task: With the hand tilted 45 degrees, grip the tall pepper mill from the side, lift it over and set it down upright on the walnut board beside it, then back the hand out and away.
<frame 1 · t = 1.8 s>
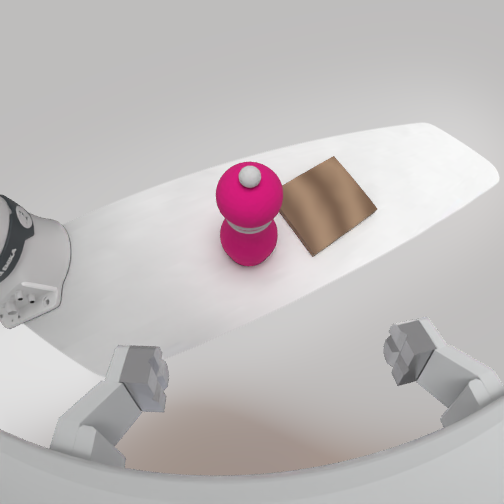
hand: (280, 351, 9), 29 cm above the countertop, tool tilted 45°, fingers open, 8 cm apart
pepper mill: (248, 245, 41), on the countertop
walnut board: (323, 204, 43), on the countertop
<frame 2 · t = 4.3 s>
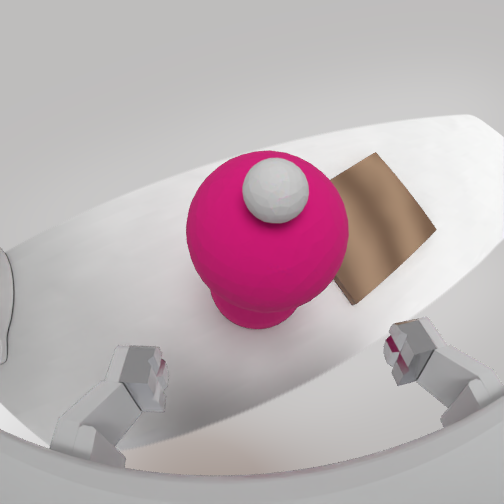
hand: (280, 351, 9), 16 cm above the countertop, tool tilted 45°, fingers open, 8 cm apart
pepper mill: (255, 289, 26), on the countertop
walnut board: (365, 222, 28), on the countertop
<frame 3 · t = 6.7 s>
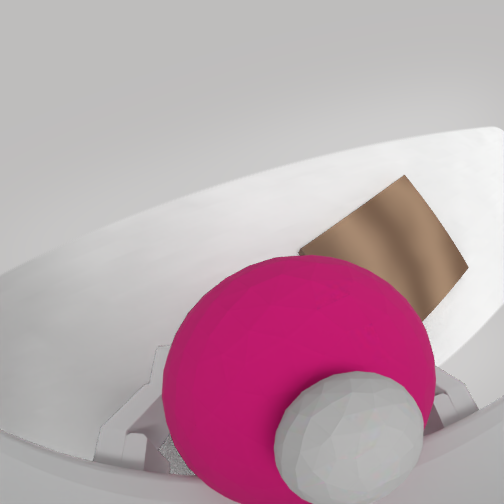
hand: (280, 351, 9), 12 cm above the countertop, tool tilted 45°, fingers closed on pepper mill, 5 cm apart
pepper mill: (263, 346, 21), on the countertop, touching gripper
walnut board: (392, 262, 23), on the countertop
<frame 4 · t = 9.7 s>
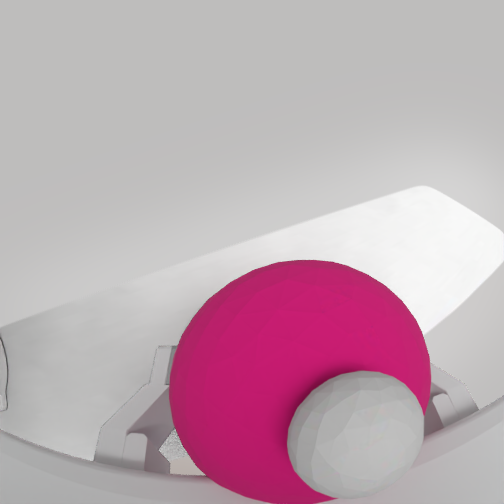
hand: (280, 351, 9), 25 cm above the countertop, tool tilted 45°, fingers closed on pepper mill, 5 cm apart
pepper mill: (257, 346, 22), point 12 cm above the countertop, touching gripper
when the fingers open (15 cm above the countertop, at t = 13.0 s): pepper mill moves 1 cm, resting on walnut board.
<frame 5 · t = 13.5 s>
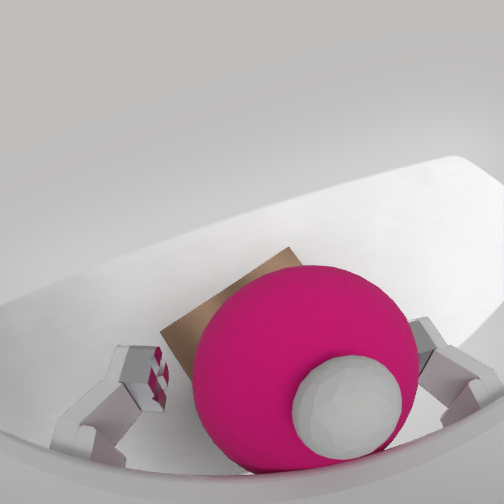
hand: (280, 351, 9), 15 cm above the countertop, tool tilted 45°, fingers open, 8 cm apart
pepper mill: (267, 344, 23), point 1 cm above the countertop, touching walnut board
walnut board: (262, 344, 23), on the countertop
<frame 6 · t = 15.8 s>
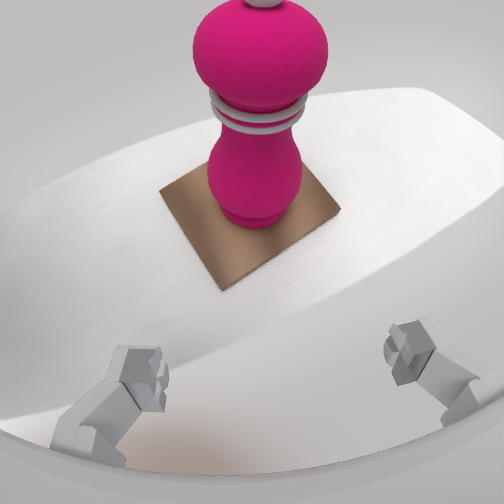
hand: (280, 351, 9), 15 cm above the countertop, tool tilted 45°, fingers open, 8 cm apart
pepper mill: (253, 198, 26), point 1 cm above the countertop, touching walnut board
walnut board: (248, 203, 27), on the countertop
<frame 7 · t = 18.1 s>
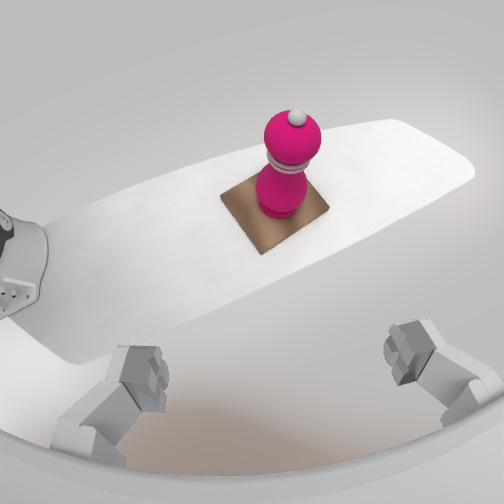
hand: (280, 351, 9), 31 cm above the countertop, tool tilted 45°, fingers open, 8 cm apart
pepper mill: (278, 200, 44), point 1 cm above the countertop, touching walnut board
walnut board: (275, 203, 45), on the countertop
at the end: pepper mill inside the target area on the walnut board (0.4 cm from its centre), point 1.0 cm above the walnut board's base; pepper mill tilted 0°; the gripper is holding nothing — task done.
